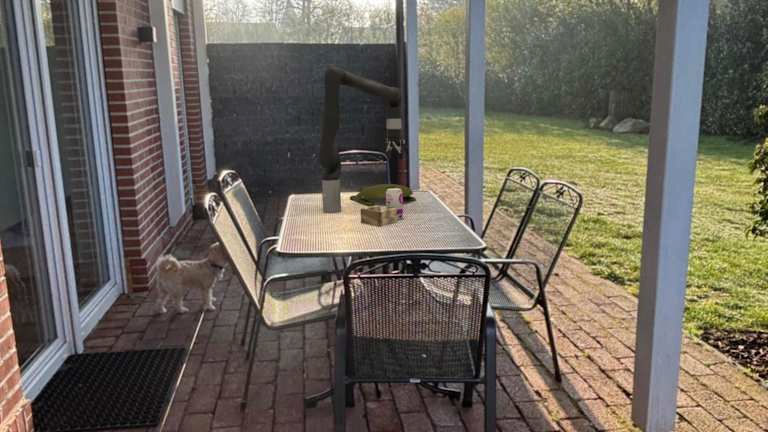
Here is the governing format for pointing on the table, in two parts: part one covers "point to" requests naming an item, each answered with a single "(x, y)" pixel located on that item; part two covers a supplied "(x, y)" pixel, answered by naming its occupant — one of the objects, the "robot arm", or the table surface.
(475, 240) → the table surface
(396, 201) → the supplement can
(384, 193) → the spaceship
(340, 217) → the table surface
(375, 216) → the cradle
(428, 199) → the table surface
